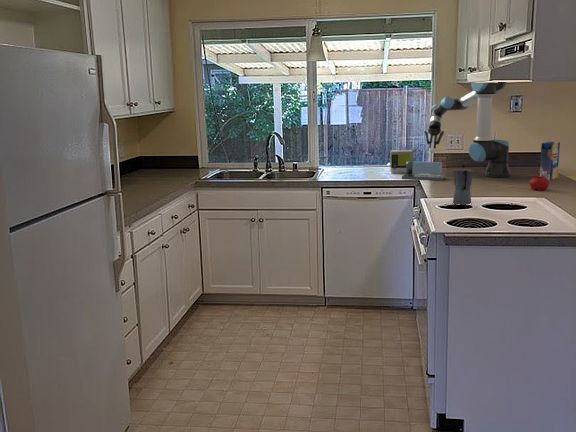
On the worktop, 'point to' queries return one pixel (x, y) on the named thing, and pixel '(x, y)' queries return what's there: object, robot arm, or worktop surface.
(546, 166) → the beverage box
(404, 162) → the tea box
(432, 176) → the plate
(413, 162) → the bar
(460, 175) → the moka pot
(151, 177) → the worktop surface
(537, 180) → the pomegranate
